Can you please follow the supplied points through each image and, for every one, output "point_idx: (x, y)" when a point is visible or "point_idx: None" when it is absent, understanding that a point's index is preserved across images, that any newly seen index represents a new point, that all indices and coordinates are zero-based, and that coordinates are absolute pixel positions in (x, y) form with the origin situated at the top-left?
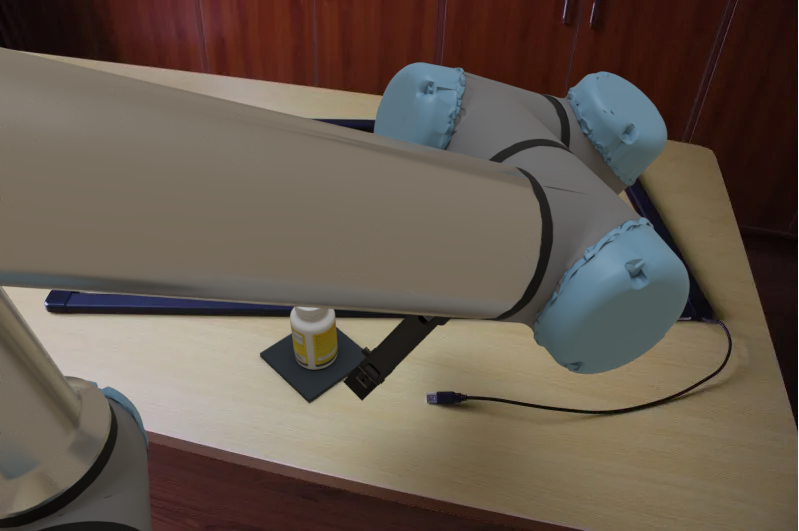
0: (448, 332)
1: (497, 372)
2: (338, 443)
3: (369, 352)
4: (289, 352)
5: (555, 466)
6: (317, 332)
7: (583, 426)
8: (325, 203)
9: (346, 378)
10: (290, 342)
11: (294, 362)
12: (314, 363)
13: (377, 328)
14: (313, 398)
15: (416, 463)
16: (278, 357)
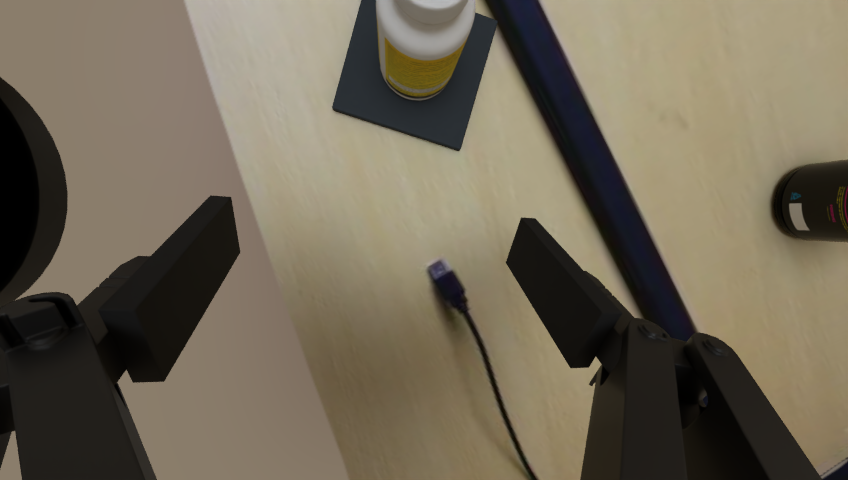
0: (565, 231)
1: (528, 330)
2: (296, 190)
3: (27, 338)
4: None
5: (421, 457)
6: (392, 42)
7: (498, 464)
8: None
9: (201, 205)
10: None
11: None
12: (385, 75)
13: (519, 125)
14: (340, 111)
15: (328, 303)
16: None
